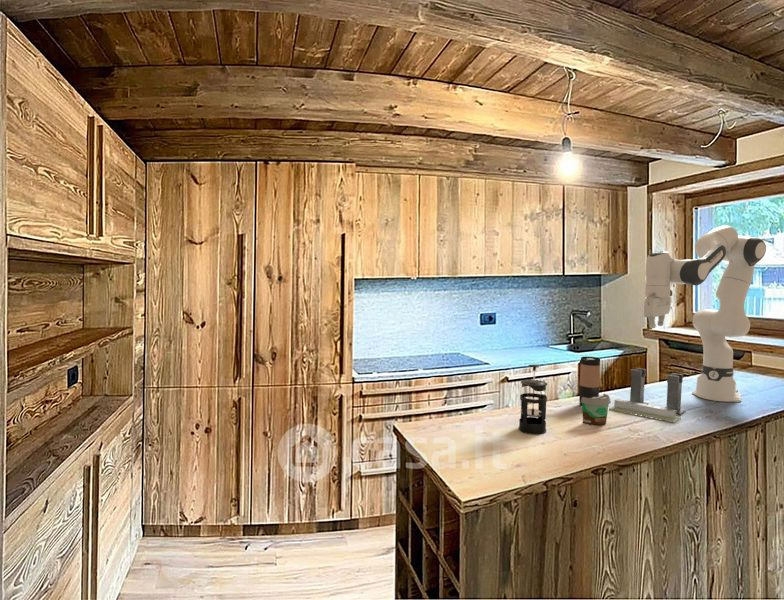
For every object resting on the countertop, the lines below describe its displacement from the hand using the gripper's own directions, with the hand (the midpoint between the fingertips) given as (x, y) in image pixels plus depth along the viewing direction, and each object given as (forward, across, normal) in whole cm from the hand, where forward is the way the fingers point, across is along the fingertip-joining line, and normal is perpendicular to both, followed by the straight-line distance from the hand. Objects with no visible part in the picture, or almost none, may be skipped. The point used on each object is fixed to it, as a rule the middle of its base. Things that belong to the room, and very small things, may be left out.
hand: (656, 326), depth 207 cm
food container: (+33, -36, +8) cm, 50 cm away
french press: (+32, -60, +21) cm, 71 cm away
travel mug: (+33, -15, +20) cm, 42 cm away
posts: (+34, +2, 0) cm, 34 cm away
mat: (+33, -10, 0) cm, 35 cm away
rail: (+33, -10, 0) cm, 34 cm away
